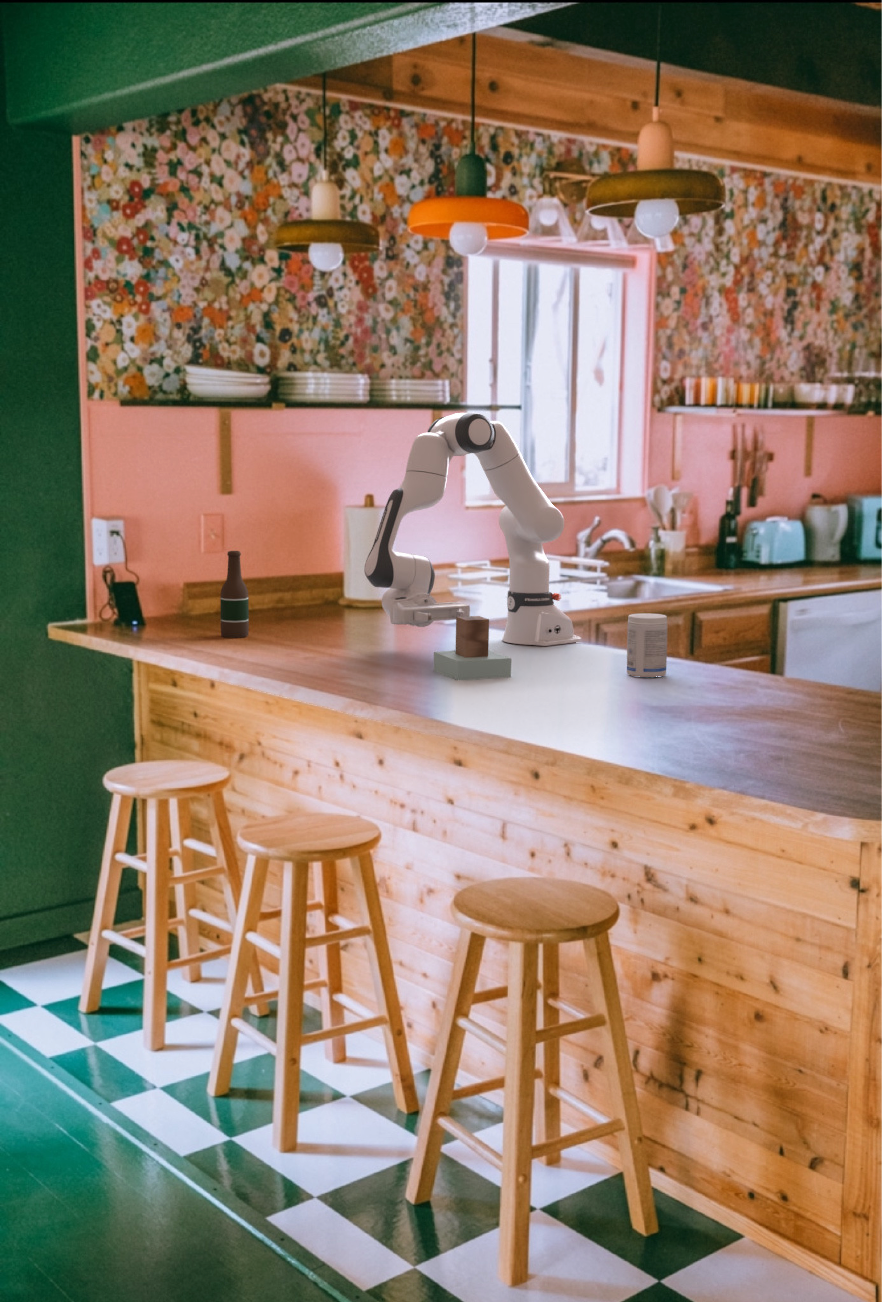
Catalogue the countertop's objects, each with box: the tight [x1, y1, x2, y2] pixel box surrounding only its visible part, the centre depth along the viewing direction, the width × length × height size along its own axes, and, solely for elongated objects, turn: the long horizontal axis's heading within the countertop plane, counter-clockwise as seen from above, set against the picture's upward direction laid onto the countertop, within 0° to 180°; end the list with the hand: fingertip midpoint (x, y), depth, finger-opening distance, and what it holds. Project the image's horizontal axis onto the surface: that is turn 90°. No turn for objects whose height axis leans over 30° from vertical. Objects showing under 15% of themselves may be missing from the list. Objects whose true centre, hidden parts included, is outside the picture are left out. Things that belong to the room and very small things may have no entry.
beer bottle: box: [219, 550, 250, 639], centre depth 372 cm, size 8×8×24 cm
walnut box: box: [454, 615, 490, 658], centre depth 320 cm, size 6×6×9 cm
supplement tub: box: [626, 612, 668, 677], centre depth 321 cm, size 10×10×15 cm
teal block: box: [433, 649, 512, 681], centre depth 321 cm, size 14×14×5 cm
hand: (445, 616), depth 331 cm, fingers open, 8 cm apart
